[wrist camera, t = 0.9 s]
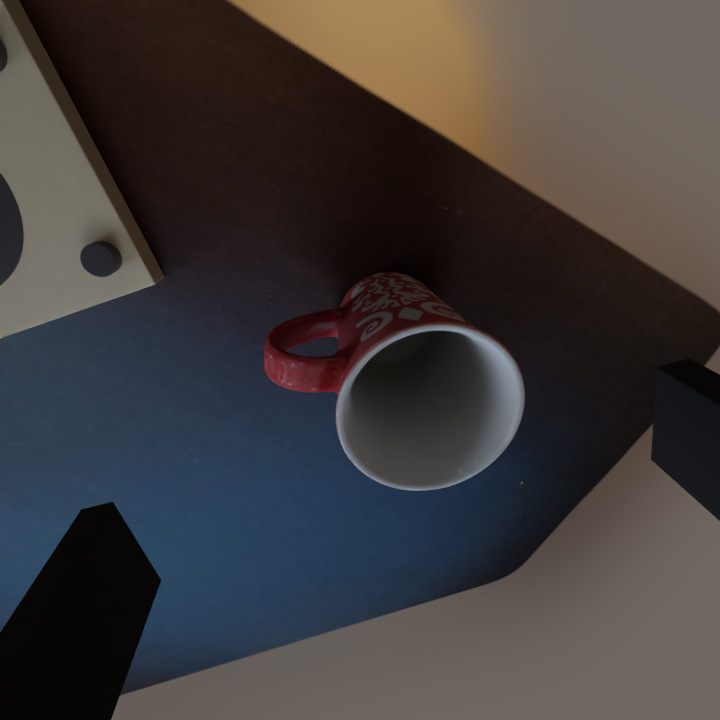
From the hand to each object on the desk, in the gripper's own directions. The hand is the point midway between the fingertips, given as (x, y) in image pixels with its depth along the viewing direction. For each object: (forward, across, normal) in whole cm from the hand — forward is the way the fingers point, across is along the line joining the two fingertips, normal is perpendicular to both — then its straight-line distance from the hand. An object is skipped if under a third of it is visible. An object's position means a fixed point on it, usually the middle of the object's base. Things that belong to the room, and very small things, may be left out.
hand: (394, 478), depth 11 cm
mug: (+22, +1, -4) cm, 23 cm away
